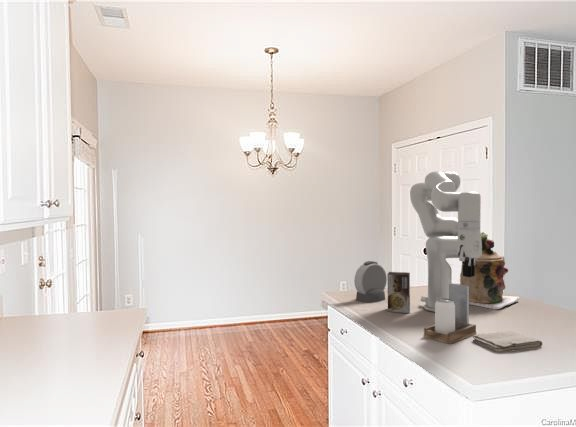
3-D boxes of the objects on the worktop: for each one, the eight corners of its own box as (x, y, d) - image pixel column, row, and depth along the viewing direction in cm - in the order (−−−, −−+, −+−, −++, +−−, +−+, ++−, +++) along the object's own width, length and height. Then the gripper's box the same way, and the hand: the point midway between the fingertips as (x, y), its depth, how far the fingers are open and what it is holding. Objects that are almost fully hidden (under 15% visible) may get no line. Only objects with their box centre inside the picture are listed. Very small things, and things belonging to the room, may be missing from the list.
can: (456, 338, 138) (456, 302, 138) (436, 337, 139) (436, 301, 139) (453, 332, 144) (453, 298, 144) (433, 331, 145) (433, 297, 145)
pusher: (448, 327, 149) (448, 283, 149) (450, 327, 150) (450, 283, 149) (466, 332, 144) (467, 286, 143) (468, 331, 144) (468, 286, 144)
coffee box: (410, 309, 177) (410, 272, 177) (409, 313, 171) (409, 274, 171) (388, 308, 180) (388, 271, 180) (387, 311, 174) (387, 273, 174)
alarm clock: (376, 295, 205) (376, 258, 205) (390, 299, 196) (391, 261, 196) (350, 299, 197) (350, 261, 196) (364, 303, 188) (364, 263, 188)
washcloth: (470, 342, 137) (470, 333, 137) (512, 336, 143) (512, 328, 143) (498, 354, 126) (498, 344, 126) (543, 348, 131) (543, 338, 131)
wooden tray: (423, 336, 142) (423, 327, 142) (449, 326, 153) (449, 318, 152) (450, 344, 134) (450, 335, 134) (476, 333, 145) (476, 325, 145)
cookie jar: (444, 300, 193) (445, 232, 193) (468, 293, 210) (468, 230, 209) (500, 310, 175) (501, 235, 174) (521, 301, 192) (521, 232, 191)
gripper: (468, 227, 142) (468, 280, 143) (489, 225, 152) (488, 275, 153) (448, 226, 148) (447, 277, 149) (469, 224, 158) (469, 272, 159)
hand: (468, 276), depth 151 cm, fingers closed
